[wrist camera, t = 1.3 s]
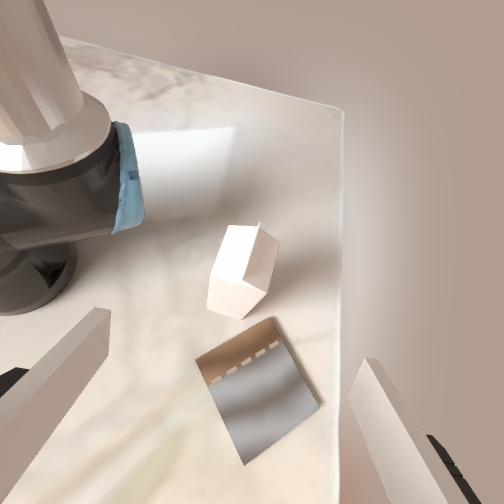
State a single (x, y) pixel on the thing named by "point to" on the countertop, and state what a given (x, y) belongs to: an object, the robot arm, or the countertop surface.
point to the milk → (242, 270)
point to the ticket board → (256, 388)
